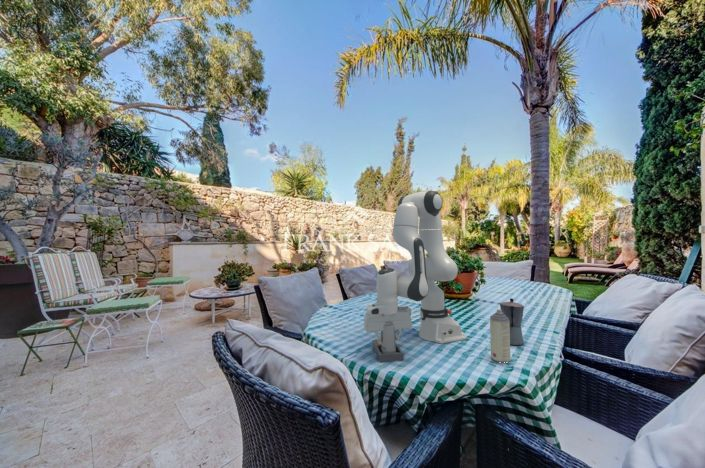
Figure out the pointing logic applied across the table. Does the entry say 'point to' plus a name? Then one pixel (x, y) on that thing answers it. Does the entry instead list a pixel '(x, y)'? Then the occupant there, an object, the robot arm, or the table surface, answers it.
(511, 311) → the moka pot
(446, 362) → the table surface
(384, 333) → the energy drink can
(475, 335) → the table surface
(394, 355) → the socket block
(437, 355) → the table surface
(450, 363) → the table surface
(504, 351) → the aerosol can
